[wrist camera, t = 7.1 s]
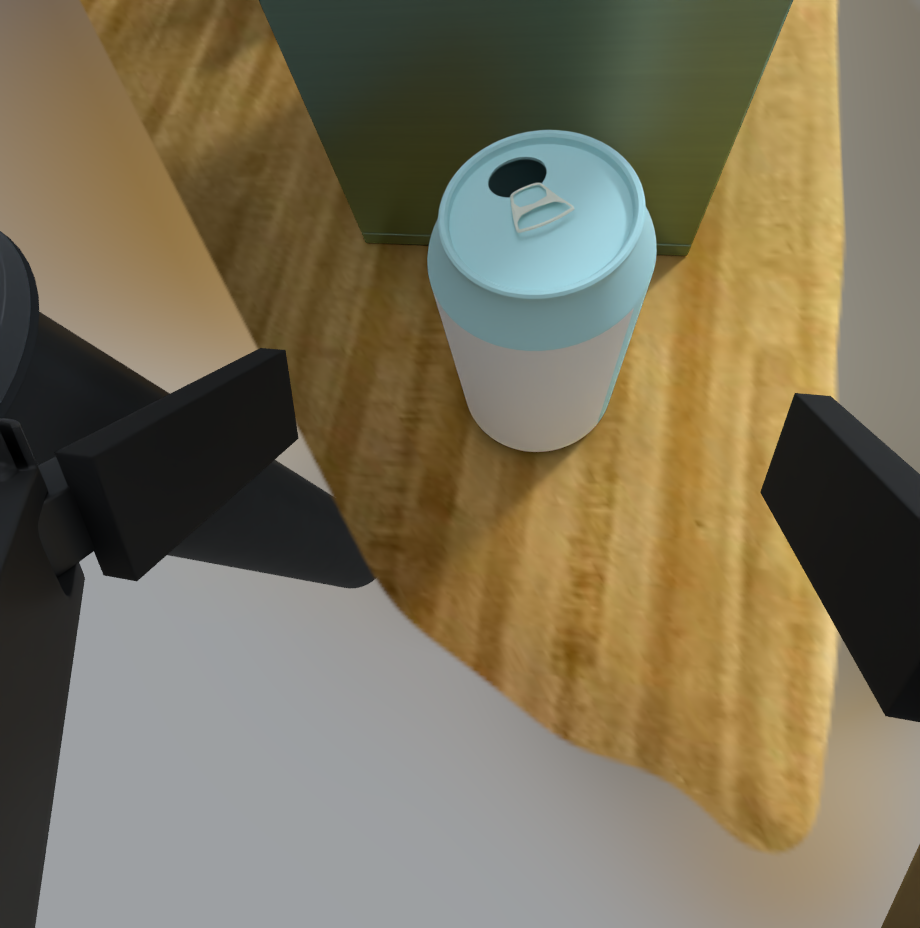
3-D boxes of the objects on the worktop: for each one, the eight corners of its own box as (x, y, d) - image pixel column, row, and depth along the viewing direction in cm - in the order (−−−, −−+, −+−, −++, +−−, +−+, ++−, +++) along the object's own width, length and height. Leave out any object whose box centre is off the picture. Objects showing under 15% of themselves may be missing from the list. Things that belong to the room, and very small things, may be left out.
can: (440, 415, 26) (369, 256, 15) (510, 306, 27) (494, 83, 16) (566, 482, 24) (594, 359, 13) (634, 362, 26) (715, 153, 14)
